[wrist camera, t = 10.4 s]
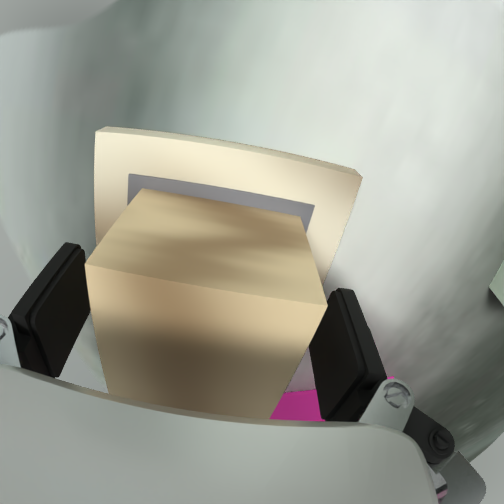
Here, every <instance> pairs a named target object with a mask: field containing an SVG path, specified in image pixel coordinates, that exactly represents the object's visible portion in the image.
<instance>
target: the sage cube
mask: <svg viewBox="0 0 504 504" xmlns="http://www.w3.org/2000/svg"><path fill="white" fill-rule="evenodd" d="M489 288H490V289H491V290H492V291H493V293H494V294H495V295H496V297H497V298H498V299H499V301H500V302H501V303H502V304H503V306H504V260H503V262H502V264H501V266H500V268H499V270H498V271H497V273H496V275H495V277H494V279H493V280H492V282H491V284H490V285H489Z"/></svg>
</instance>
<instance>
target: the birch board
mask: <svg viewBox="0 0 504 504" xmlns="http://www.w3.org/2000/svg"><path fill="white" fill-rule="evenodd" d="M362 178H363V177H362V176H361V175H360V174H359V173H358V172H357V171H356V170H355V169H351V168H348V167H344V166H340V165H336V164H332V163H328V162H324V161H320V160H316V159H312V158H308V157H304V156H299V155H295V154H290V153H286V152H281V151H277V150H272V149H267V148H262V147H257V146H252V145H246V144H241V143H235V142H229V141H224V140H218V139H211V138H205V137H198V136H191V135H184V134H177V133H169V132H160V131H151V130H142V129H132V128H120V127H107V126H106V127H104V128H102V129H100V130H98V131H96V136H95V162H94V204H95V230H96V247H97V246H98V244H99V243H100V242H101V240H102V239H103V237H104V236H105V235H106V233H107V232H108V231H109V229H110V228H111V227H112V225H113V224H114V223H115V221H116V220H117V219H118V218H119V216H120V215H121V214H122V212H123V211H124V210H125V209H126V207H127V206H128V205H129V204H130V202H131V201H132V200H133V199H134V197H135V196H136V195H137V194H138V193H139V191H140V190H141V189H142V188H144V189H151V190H157V191H163V192H170V193H176V194H182V195H188V196H194V197H200V198H205V199H211V200H217V201H222V202H228V203H233V204H239V205H244V206H249V207H255V208H260V209H265V210H270V211H275V212H280V213H285V214H290V215H295V216H300V217H301V220H302V223H303V226H304V230H305V233H306V236H307V239H308V242H309V245H310V248H311V251H312V255H313V258H314V261H315V264H316V268H317V271H318V274H319V277H320V281H321V284H322V286H323V283H324V281H325V278H326V276H327V273H328V271H329V268H330V266H331V263H332V261H333V258H334V255H335V253H336V250H337V248H338V245H339V242H340V240H341V237H342V234H343V232H344V229H345V226H346V224H347V221H348V218H349V215H350V212H351V210H352V207H353V204H354V201H355V198H356V195H357V192H358V190H359V187H360V184H361V181H362Z"/></svg>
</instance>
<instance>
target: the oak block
mask: <svg viewBox="0 0 504 504" xmlns="http://www.w3.org/2000/svg"><path fill="white" fill-rule="evenodd" d="M85 271H86V280H87V287H88V294H89V301H90V308H91V314H92V320H93V325H94V331H95V336H96V341H97V346H98V351H99V355H100V360H101V364H102V368H103V372H104V377H105V380H106V384H107V388H108V392H109V394H111V395H115V396H119V397H124V398H128V399H132V400H137V401H142V402H146V403H151V404H156V405H161V406H167V407H172V408H178V409H184V410H191V411H197V412H204V413H212V414H220V415H228V416H238V417H248V418H260V419H269V418H270V417H271V415H272V413H273V411H274V410H275V408H276V406H277V404H278V402H279V401H280V399H281V397H282V395H283V393H284V392H285V390H286V388H287V386H288V384H289V382H290V381H291V379H292V377H293V375H294V373H295V371H296V369H297V367H298V365H299V363H300V362H301V360H302V358H303V356H304V354H305V352H306V350H307V348H308V346H309V344H310V342H311V340H312V338H313V336H314V334H315V332H316V330H317V328H318V325H319V323H320V321H321V319H322V317H323V315H324V313H325V311H326V309H327V307H328V305H327V301H326V298H325V294H324V291H323V288H322V284H321V281H320V277H319V274H318V271H317V268H316V264H315V261H314V258H313V255H312V251H311V248H310V245H309V242H308V239H307V236H306V233H305V230H304V226H303V223H302V220H301V217H300V216H295V215H290V214H285V213H280V212H275V211H270V210H265V209H260V208H255V207H249V206H244V205H239V204H233V203H228V202H222V201H217V200H211V199H205V198H200V197H194V196H188V195H182V194H176V193H170V192H163V191H157V190H151V189H144V188H142V189H141V190H140V191H139V193H138V194H137V195H136V196H135V197H134V199H133V200H132V201H131V202H130V204H129V205H128V206H127V207H126V209H125V210H124V211H123V212H122V214H121V215H120V216H119V218H118V219H117V220H116V221H115V223H114V224H113V225H112V227H111V228H110V229H109V231H108V232H107V233H106V235H105V236H104V237H103V239H102V240H101V242H100V243H99V244H98V246H97V247H96V248H95V250H94V251H93V253H92V254H91V255H90V257H89V258H88V260H87V261H86V263H85Z"/></svg>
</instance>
